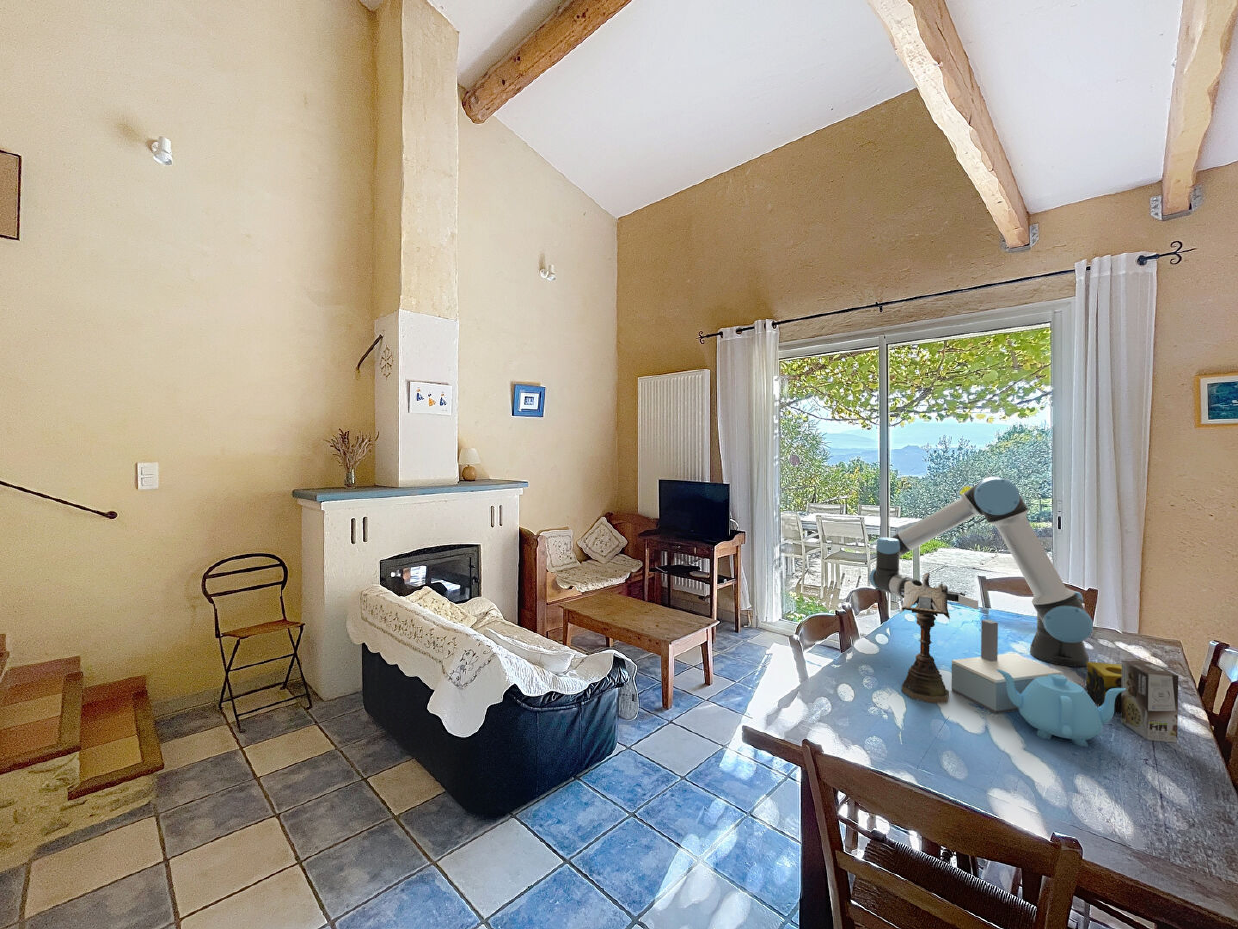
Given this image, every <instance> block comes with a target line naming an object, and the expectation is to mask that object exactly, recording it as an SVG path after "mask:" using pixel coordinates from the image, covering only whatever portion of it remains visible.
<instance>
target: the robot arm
mask: <svg viewBox="0 0 1238 929" xmlns="http://www.w3.org/2000/svg"><path fill="white" fill-rule="evenodd" d="M1028 511H1029V509H1028V507H1027V505H1026V504H1025V502H1024V500H1023V498H1022V497H1021V493H1020V491H1019V489H1018V487H1017V486H1016V484H1014V483H1013V482H1012V481H1010V480H1009V479H1007V478H1005V477H1002V476H996V475H995V476H994V475H993V476H987V477H985V478H983V479H981V480H979V482H977V483H976V484H975V485H974V486H972V487H971V488H970V489H968V490H967V491H965V492H963V493H962V495H961V497H960V498H959V499H957V500H954V501H953V502H951V503H950V504H948V505H946V506H944V507H941V509H939V510H937V511H935V512H934V513H931V514H930V515H928V516H926V517H924V518H923V519H921V520H919V521H917V522H916V523H914V524H912V525H910V526H909V527H907V528H906V529H903V530H902V531H900V532H897V534H895V535H893V536H891V537H886V536H885V537H884V536H883V537H878V538H877V540H876V545H875V548H876V560H875V562H876V563H875V564H876V565H875V568H874V569H873V570H871V571H870V574H869V576H868V577H869V578H868V580H869V583H870V584H871V586H872V587H874V588H875V589H877V590H879V591H881V592H886V593H888V594H890V595H893V596H896V597H898V598H899V599H904V586H905V582H906V581H912V582H913V584H914V585H916V586H921V585H922V584H923V582H921V581H920V580H918V579H915V578H912V577H909V576H906V575H903V574H900V558H901V557H902V556H903V555H905V554H907V553H909V552H911V551H912V550H914V549H917V548H918V547H920V546H922V545H924V544H925V543H928V542H929V541H931V540H933V539H935V538H937V537H939V536H940V535H943V534H944V533H946V532H948V531H950V530H951V529H954V528H956V527H957V526H959V525H960V524H963V523H964V522H966V521H968V520H970V519H972V518H974V517H975V516H977V517H978V516H979V517H982V516H984V517H985V520H986V521H987V523H988V524H989V525H992V526H994V527H996V529H997V531H998V532H999V534H1000V536H1001V538H1002V540H1003V541H1004V543H1005V545H1006V547H1007V549H1008V551H1009V552H1010V554H1011V556H1012V558H1013V560H1014V561H1015V563H1016V565H1017V567H1018V569H1019V570H1020V572H1021V575H1022V576H1023V578H1024V580H1025V581H1026V583H1027V585H1028V587H1029V588H1030V591H1031V592H1032V594H1033V598H1032V600H1031V604H1032V605H1033V607H1034V609H1035V611H1036V633H1035V635H1034V637H1033V639H1032V642H1031V644H1030V647H1029V648H1030V650H1029V653H1030V655H1032V656H1033V657H1035V658H1036V659H1038V660H1041V661H1043V662H1048V663H1051V664H1055V665H1061V666H1066V667H1087V662H1090V657H1089V654H1088V652H1087V649H1086V646H1085V643H1084V641H1085V640H1087V639H1088V638H1089V637H1090V636H1091V635H1092V633H1093V629H1094V621H1093V618H1092V617H1091V615H1090V614H1089V613H1088V612H1087V611H1086V608H1085V607H1084V606H1083V603H1084V597H1083V593H1081V592H1079V591H1075V590H1073V589H1070V588H1068V587H1066V586H1065V584H1064V582H1063V580H1062V578H1061V577H1060V574H1059V573H1058V571H1057V569H1056V568H1055V566H1054V564H1053V562H1052V560H1051V558H1050V557H1049V555H1048V554H1047V552H1046V550H1045V548H1044V547H1043V545H1042V543H1041V542H1040V539H1039V537H1038V536H1037V534H1036V533H1035V531H1034V529H1033V527H1032V526H1031V524H1030V522H1029V520H1028V519H1027V513H1028ZM932 588H936V587H934V586H932ZM948 601H949V602H954V603H955V602H956V603H958V604H960V605H962V606H965V607H968V608H972V609H974V610H978V609H979V600H978V599H975V598H972V597H969V596H967V595H966V593H964V592H962V591H960V592H958V591H952V590H948V596H947V602H948ZM918 603H919V599H917V601H916V602H915V603H914V604H913V605H912V606H916V604H918ZM931 604H932V606H933V608H934V609H935V610H938V609H937V607H936V606H935V605H934V603H933V602H932V603H931ZM938 611H939V610H938Z"/></svg>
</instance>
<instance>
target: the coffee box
mask: <svg viewBox="0 0 1238 929" xmlns="http://www.w3.org/2000/svg"><path fill="white" fill-rule="evenodd" d="M1121 665H1122V679H1121V681H1122V688H1126V690H1124V691H1122V694H1121V697H1122V698H1121V700H1122V702H1121V703H1122V704H1121V713H1120V714H1121V716H1120V718H1121V721H1120V723H1121V724H1123V725H1125V726H1126V727H1128V728H1130V729H1131V730H1132V731H1134V732H1135V733H1137V734H1138V735H1140V736H1141V737H1143V738H1144V739H1146V740H1147V741H1153V742H1155V741H1156V742H1164V743H1165V742H1167V743H1175V744H1177V743H1178V725H1179V724H1178V723H1179V722H1178V721H1179V720H1178V718H1179V716H1178V714H1179V675H1178V674H1176V673H1173V672H1172V671H1170V670H1168V669H1166V668H1164V667H1161V666H1159V665H1157V664H1155V663H1153V662H1151V661H1146V660H1145V661H1142V660H1121Z"/></svg>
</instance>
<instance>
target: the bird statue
mask: <svg viewBox="0 0 1238 929" xmlns="http://www.w3.org/2000/svg"><path fill="white" fill-rule="evenodd" d="M930 574H931V573H930V572H925V573H924V575H923V577H922V578H923V580H922V585H921V586H916V585H914V584H913V582H912V581H906V582H905V586H904V598H903V602H902V605H901V609H900V611H899V614H901V613H902V612H904V611H911V614H914V613H915V615H914V617H915V619H916V621H915V622H916V625H918V626H919V628H920V638H919V639H918V640H919V642H920V643H919V644H920V646H919V648H920V649H919V650H920V652H919V653H917V654H916V655H915V661H914V662H913V665H910V668H908V671H907V673H908V674H907V675H906V678H905V679H904V680H903V683H902V684H901V692H902V693H904V694H905V693H907V694H908V695H907V694H906V695H907V696H908V697H910V698H911V699H912V700H913V699H914V700H917V699H919V700H918V701H921V700H922V702H925V701H926V703H930V704H938V703H939V704H941V703H947V702H948V699H949V697H950V690H949V689H947V688H946V685H945V683H944V681H943V674H941V672H940V670H939V669H938V667H937V665H936V662H935V658H934V657H933V656H932V655H931V654H930V648H931V646H930V645H931V644H932V641H931V631H932V630H931V629H932V628H934V627H935V626H936V624H935V621H936V619H937V617H938V616H939V615H944V616H945V617H946V618H947V619H948V620H951V617H950V613H949V609H948V600H947V596H948V591H949V588H948V586H947V585H946V584H943V581H940V584H938V586H937V587H935V588H933V586H931V585H930V577H931V576H930ZM954 584H956V583H954ZM917 599H919V603H918V604H917V603H915V602H916V601H917ZM932 602H933V603H934V605H935V606H936V607H937V609H938V610H939V611H938V610H935V609H934V608H933V606H932V604H931V603H932ZM914 603H915V604H917V605H915V607H912V606H914V605H913V604H914Z"/></svg>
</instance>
